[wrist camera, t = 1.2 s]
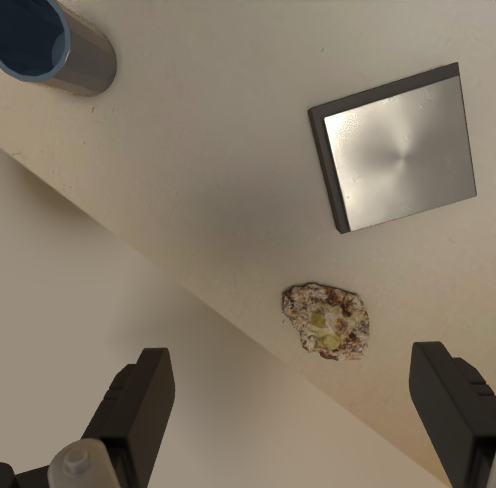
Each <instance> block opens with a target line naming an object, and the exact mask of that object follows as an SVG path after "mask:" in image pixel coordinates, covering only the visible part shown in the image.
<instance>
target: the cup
mask: <svg viewBox="0 0 496 488" xmlns="http://www.w3.org/2000/svg"><path fill="white" fill-rule="evenodd" d="M0 68H1V69H2V70H3V71H4V72H5V73H7V74H9V75H10V76H12V77H14V78H16V79H18V80H20V81H23V82H27V83H31V84H35V85H39V86H42V87H46V88H50V89H54V90H58V91H62V92H66V93H70V94H73V95H79V96H95V95H98V94H100V93H102V92H103V91H105V90H106V89H107V88H108V87H109V86H110V84H111V83H112V81H113V79H114V76H115V72H116V57H115V53H114V50H113V48H112V46H111V44H110V42H109V41H108V39H107V38H106V37H105V36H104V35H103V34H102V33H101V32H100V31H99V30H98V29H96V28H95V27H94V26H92V25H91V24H89V23H88V22H87V21H85V20H84V19H82V18H81V17H80V16H78V15H77V14H75V13H74V12H73V11H71V10H70V9H68V8H67V7H66V6H64V5H63V4H62V3H60V2H59V1H57V0H0Z"/></svg>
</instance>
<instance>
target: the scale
mask: <svg viewBox="0 0 496 488" xmlns="http://www.w3.org/2000/svg"><path fill="white" fill-rule="evenodd" d="M308 114H309V118H310V122H311V126H312V130H313V134H314V138H315V142H316V146H317V150H318V154H319V159H320V163H321V167H322V171H323V175H324V179H325V183H326V187H327V191H328V195H329V199H330V203H331V207H332V211H333V215H334V219H335V224H336V228H337V230H338V231H339V232H340V233H341V234H343V233H347V232H350V231H351V232H353V231H356V230H360V229H363V228H367V227H370V226H374V225H377V224H381V223H384V222H388V221H391V220H395V219H398V218H402V217H405V216H409V215H412V214H416V213H419V212H423V211H426V210H430V209H434V208H437V207H441V206H444V205H448V204H451V203H455V202H458V201H462V200H465V199H469V198H472V197H476V195H477V193H476V186H475V179H474V172H473V165H472V158H471V151H470V144H469V137H468V130H467V123H466V116H465V109H464V102H463V95H462V88H461V81H460V73H459V66H458V62H455V63H452V64H449V65H446V66H443V67H440V68H436V69H433V70H430V71H427V72H424V73H421V74H418V75H414V76H411V77H408V78H405V79H402V80H399V81H395V82H392V83H389V84H386V85H383V86H380V87H376V88H373V89H370V90H367V91H364V92H361V93H358V94H354V95H351V96H348V97H345V98H342V99H339V100H335V101H332V102H329V103H326V104H323V105H320V106H317V107H313V108H311V109H309V110H308Z"/></svg>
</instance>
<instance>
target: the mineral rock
mask: <svg viewBox="0 0 496 488" xmlns="http://www.w3.org/2000/svg"><path fill="white" fill-rule="evenodd" d="M282 298H283V301H284V303H283V308H282V310H283V312H282V313H284V314H285V315H286V316H287V317H288V318H289V319H290V320H291V321H292V325H294V328H296V329H298V330H299V332H300V336H301V338H302V340H301V342H302V345H303V348H305V349H306V350H308V353H309V352H315V351H319V353H320V355H321V356H322V357H323V358H325V359H334V360H337V361H338V360H339V359H342V360H361V359H362V358H363V355H364V351H365V348H367V347H368V345H367V340H368V339H369V335H370V334H369V332H368V331H369V320H368V319H369V318H368V314H367V312H366V311H365V310H367V308H366V306H365V305H364V304H362V302H361V301H360V296H358V295H352V294H350V293H345V292H344V291H342V290H340V289H333V288H331V287H322V286H319V285H318V284H308V285H307V286H306V287H304V288H302V287H294V288H293V289H292V292H287V293H284V295H282Z"/></svg>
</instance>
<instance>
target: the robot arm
mask: <svg viewBox="0 0 496 488" xmlns="http://www.w3.org/2000/svg"><path fill="white" fill-rule="evenodd" d="M409 390H410V395H411V398H412V401H413V403H414V405H415V408H416V410H417V412H418V414H419V416H420V418H421V420H422V423H423V425H424V427H425V429H426V431H427V433H428V435H429V438H430V440H431V442H432V444H433V446H434V448H435V450H436V453H437V455H438V457H439V459H440V461H441V463H442V465H443V468H444V470H445V472H446V474H447V476H448V478H449V480H450V482H451V485H452V487H453V488H496V396H495V395H494V392H493V391H492V389H491V388H490V387H489V385H487V384H486V381H485V380H484V379H483V377H482V376H481V375H480V373H479V372H478V371H477V369H476V368H474V367H473V366H472V365H470V364H469V363H467V362H466V361H465V360H463V359H462V358H452V357H451V355H450V354H449V352H448V351H447V350H446V348H445V347H444V345H443V344H442V343H441V342H439V341H435V342H414V344H413V347H412V356H411V365H410V374H409ZM174 398H175V382H174V377H173V371H172V365H171V360H170V355H169V351H168V349H167V348H145V349H143V351H142V353H141V355H140V357H139V359H138V361H137V363H136V364H128V365H127V366H125V367H124V368H123V369H122V370H121V371H120V372H119V373H118V374H117V375H116V376H115V378H114V380H113V382H112V383H111V385H110V387H109V390H108V391H107V392H106V394H105V396H104V399H103V401H102V402H101V403H100V405H99V407H98V409H97V410H96V412H95V414H94V416H93V418H92V419H91V422H90V423H89V425H88V427H87V428H86V430H85V432H84V434H83V436H82V437H81V439H80V440H78V441H75V442H73V443H71V444H70V445H68V446H66V447H65V448H63V449H62V450H61V451H60V452H59V453H58V454H57V455H56V456H55V457H54V459H53V460H52V462H51V463H50V465H47V466H44V467H41V468H37V469H34V470H30V471H27V472H23V473H20V474H17V475H15V474H14V471H13V469H12V467H11V466H10V465H9V464H6V463H2V462H0V488H147V486H148V483H149V479H150V476H151V473H152V470H153V467H154V464H155V461H156V457H157V454H158V451H159V448H160V445H161V441H162V438H163V435H164V432H165V429H166V426H167V423H168V419H169V416H170V413H171V410H172V407H173V403H174Z"/></svg>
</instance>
